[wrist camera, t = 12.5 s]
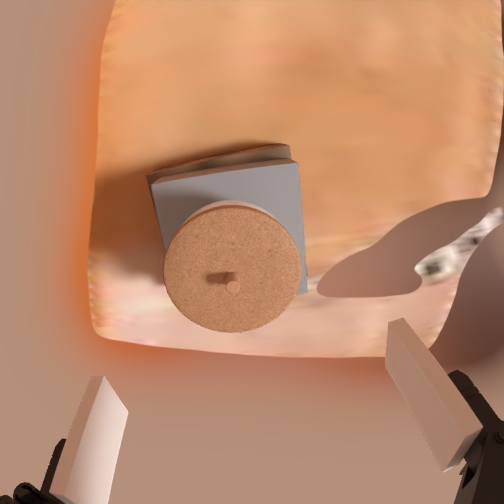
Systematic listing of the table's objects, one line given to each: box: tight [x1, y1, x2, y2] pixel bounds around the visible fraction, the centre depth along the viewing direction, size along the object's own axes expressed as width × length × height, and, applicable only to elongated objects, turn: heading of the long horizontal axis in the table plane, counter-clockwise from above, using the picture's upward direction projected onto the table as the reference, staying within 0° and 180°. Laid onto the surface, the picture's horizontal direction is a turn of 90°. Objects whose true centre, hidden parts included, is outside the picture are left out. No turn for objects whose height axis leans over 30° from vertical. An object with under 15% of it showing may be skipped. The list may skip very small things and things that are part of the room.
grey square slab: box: [151, 158, 308, 295], centre depth 33 cm, size 14×14×5 cm
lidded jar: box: [163, 200, 302, 333], centre depth 27 cm, size 11×11×9 cm
